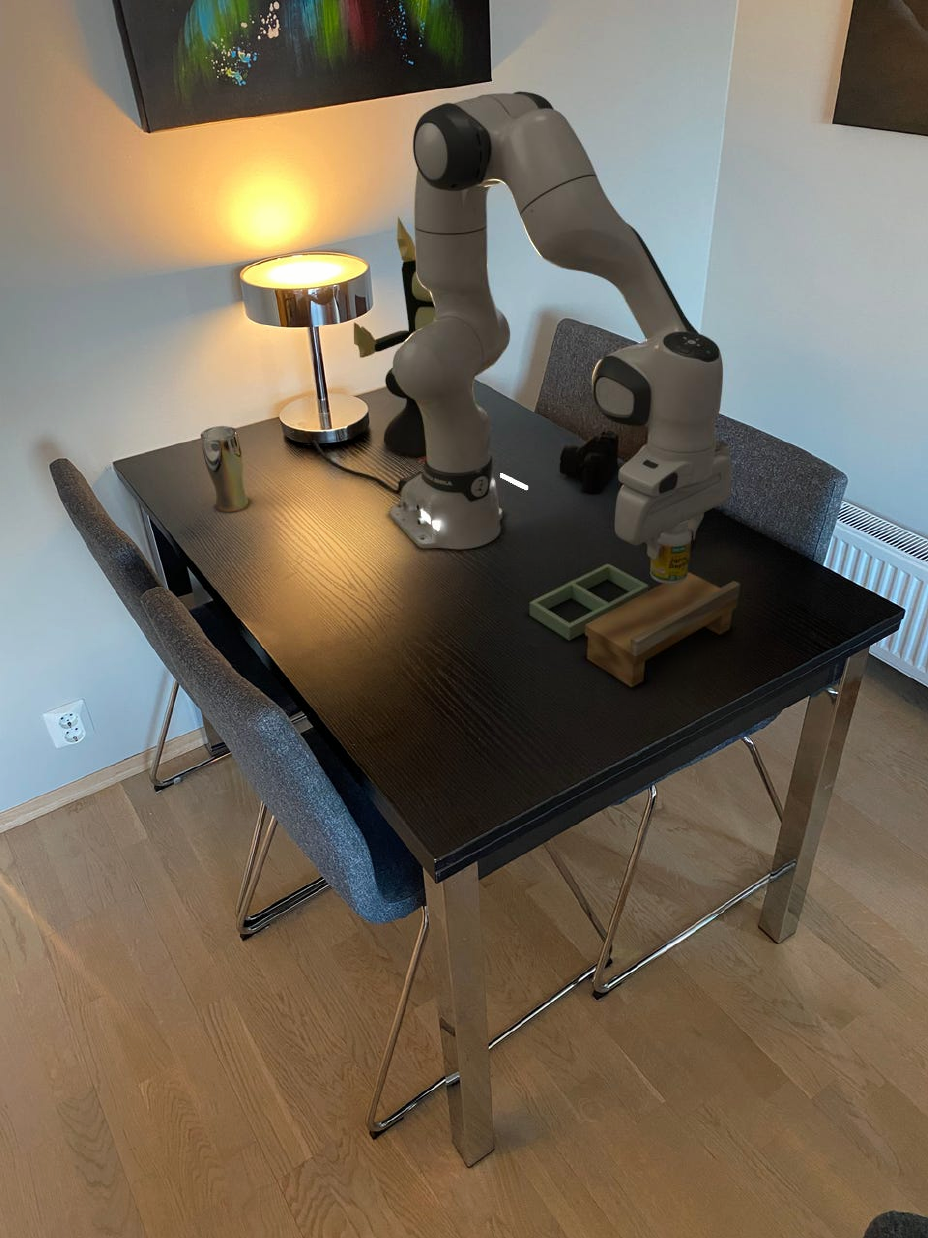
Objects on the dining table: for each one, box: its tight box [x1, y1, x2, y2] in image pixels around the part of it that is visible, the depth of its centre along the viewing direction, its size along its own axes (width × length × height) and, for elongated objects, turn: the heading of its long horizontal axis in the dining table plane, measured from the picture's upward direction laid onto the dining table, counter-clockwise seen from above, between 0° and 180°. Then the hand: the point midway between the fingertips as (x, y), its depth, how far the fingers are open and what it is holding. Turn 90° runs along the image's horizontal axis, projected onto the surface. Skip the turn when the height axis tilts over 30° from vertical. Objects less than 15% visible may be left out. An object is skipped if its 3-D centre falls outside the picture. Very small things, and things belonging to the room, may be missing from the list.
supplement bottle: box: [649, 520, 692, 584], centre depth 134 cm, size 5×5×10 cm
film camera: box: [559, 430, 620, 495], centre depth 186 cm, size 15×10×9 cm, turn 155°
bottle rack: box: [529, 563, 650, 641], centre depth 150 cm, size 9×17×2 cm, turn 128°
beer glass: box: [200, 425, 249, 513], centre depth 180 cm, size 7×7×15 cm
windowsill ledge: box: [584, 571, 741, 688], centre depth 140 cm, size 10×22×8 cm, turn 128°
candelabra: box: [353, 216, 435, 457], centre depth 193 cm, size 19×22×45 cm
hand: (670, 548), depth 134 cm, fingers closed on supplement bottle, 5 cm apart
